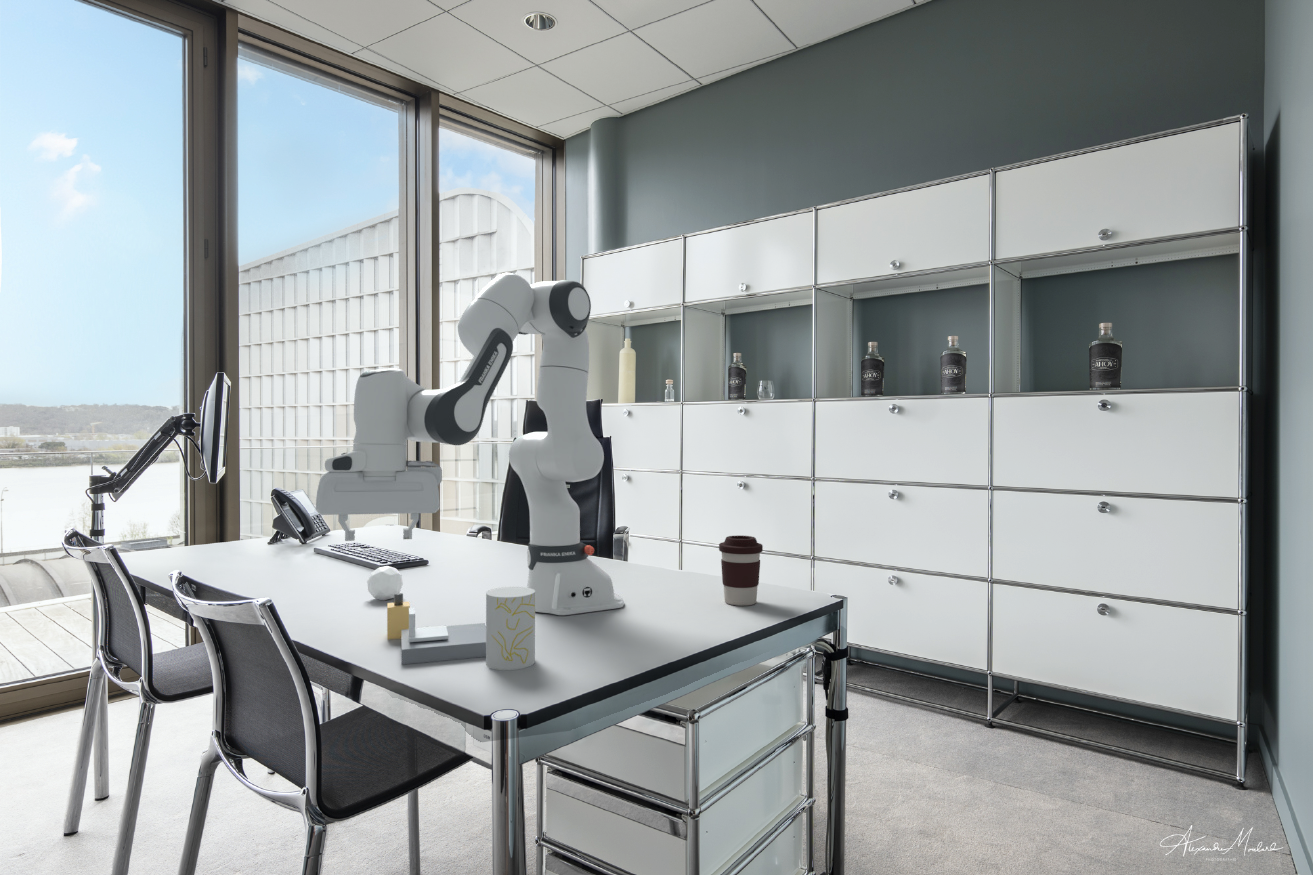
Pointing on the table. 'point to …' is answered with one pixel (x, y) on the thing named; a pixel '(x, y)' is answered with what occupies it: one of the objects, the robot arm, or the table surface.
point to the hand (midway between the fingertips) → (379, 539)
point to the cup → (510, 628)
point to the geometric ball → (384, 583)
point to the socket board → (446, 645)
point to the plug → (397, 617)
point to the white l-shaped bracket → (425, 630)
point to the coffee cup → (740, 569)
